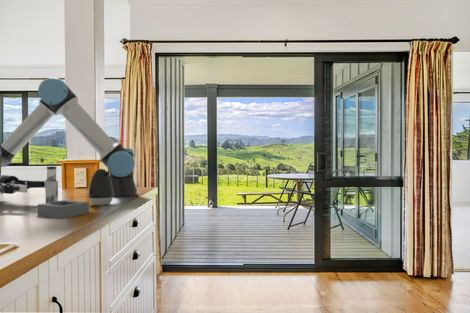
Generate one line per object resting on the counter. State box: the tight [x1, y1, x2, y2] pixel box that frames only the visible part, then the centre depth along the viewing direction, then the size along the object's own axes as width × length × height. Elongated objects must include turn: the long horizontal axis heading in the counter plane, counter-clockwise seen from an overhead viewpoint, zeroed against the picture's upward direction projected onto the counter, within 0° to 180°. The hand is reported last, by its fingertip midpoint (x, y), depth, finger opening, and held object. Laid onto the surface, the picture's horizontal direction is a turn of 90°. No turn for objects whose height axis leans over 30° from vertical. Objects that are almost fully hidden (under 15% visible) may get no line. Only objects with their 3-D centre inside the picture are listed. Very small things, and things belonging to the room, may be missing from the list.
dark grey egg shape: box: [87, 168, 114, 207], centre depth 157 cm, size 10×10×15 cm
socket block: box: [37, 199, 90, 219], centre depth 136 cm, size 12×12×4 cm
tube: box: [44, 165, 59, 203], centre depth 147 cm, size 4×4×17 cm
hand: (42, 187), depth 148 cm, fingers open, 13 cm apart
